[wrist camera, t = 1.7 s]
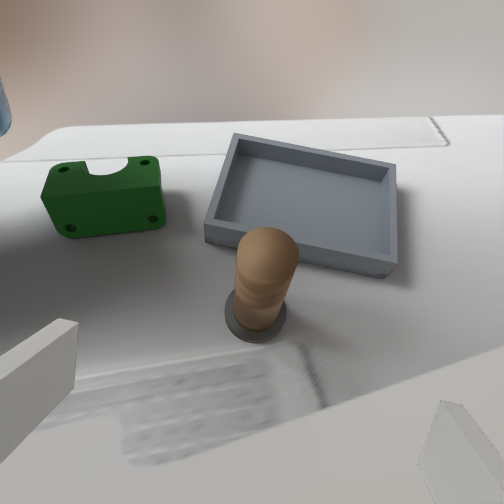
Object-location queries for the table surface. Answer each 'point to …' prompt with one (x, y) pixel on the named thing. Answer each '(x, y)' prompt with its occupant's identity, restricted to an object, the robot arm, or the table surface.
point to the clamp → (105, 198)
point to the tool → (261, 284)
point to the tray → (308, 203)
